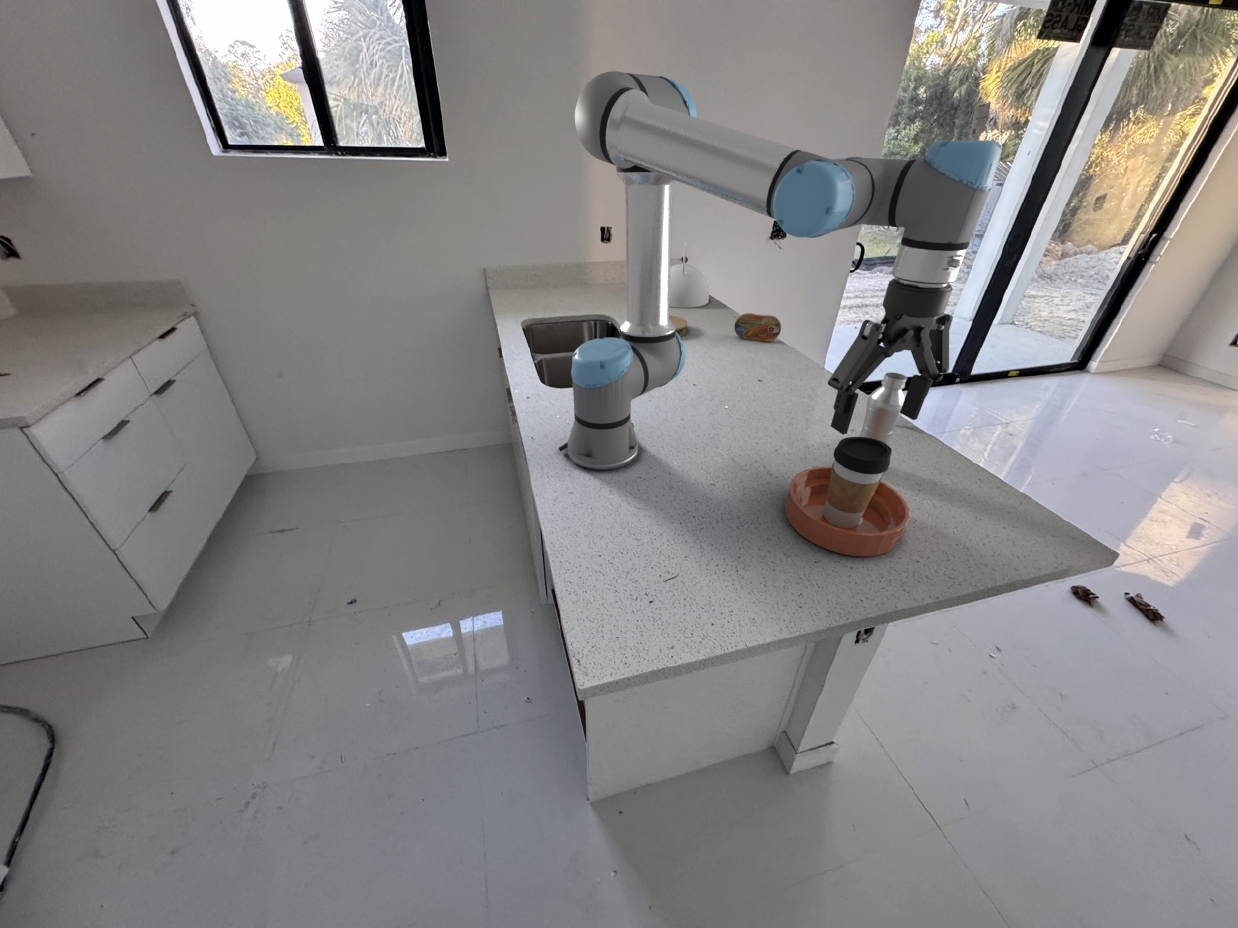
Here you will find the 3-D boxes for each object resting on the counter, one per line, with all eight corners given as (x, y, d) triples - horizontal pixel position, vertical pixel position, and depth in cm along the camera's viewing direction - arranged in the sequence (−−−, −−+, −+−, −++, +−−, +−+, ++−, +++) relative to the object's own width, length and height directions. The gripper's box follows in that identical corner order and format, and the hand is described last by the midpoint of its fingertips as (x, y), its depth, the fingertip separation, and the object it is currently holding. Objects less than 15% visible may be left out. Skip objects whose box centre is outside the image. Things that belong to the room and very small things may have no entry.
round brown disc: (681, 340, 163) (681, 331, 162) (635, 334, 168) (636, 326, 166) (690, 325, 176) (691, 317, 174) (648, 321, 180) (648, 313, 178)
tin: (732, 337, 166) (736, 313, 161) (734, 334, 168) (737, 310, 164) (777, 343, 161) (782, 318, 156) (779, 340, 164) (784, 315, 159)
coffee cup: (871, 536, 82) (900, 463, 74) (819, 529, 84) (841, 456, 75) (861, 506, 89) (886, 435, 81) (813, 500, 91) (833, 430, 82)
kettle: (656, 290, 217) (659, 235, 204) (708, 292, 214) (714, 236, 202) (652, 306, 196) (654, 245, 183) (708, 308, 194) (715, 247, 181)
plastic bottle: (880, 478, 98) (914, 386, 86) (844, 467, 100) (873, 378, 89) (884, 463, 102) (918, 374, 91) (850, 453, 105) (879, 366, 94)
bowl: (832, 570, 77) (840, 547, 74) (763, 499, 92) (768, 477, 89) (925, 542, 82) (936, 520, 79) (845, 479, 97) (852, 459, 94)
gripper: (866, 296, 57) (824, 448, 69) (1017, 280, 64) (955, 421, 76) (824, 281, 63) (791, 424, 75) (966, 268, 70) (916, 400, 82)
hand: (874, 423), depth 76 cm, fingers open, 13 cm apart
